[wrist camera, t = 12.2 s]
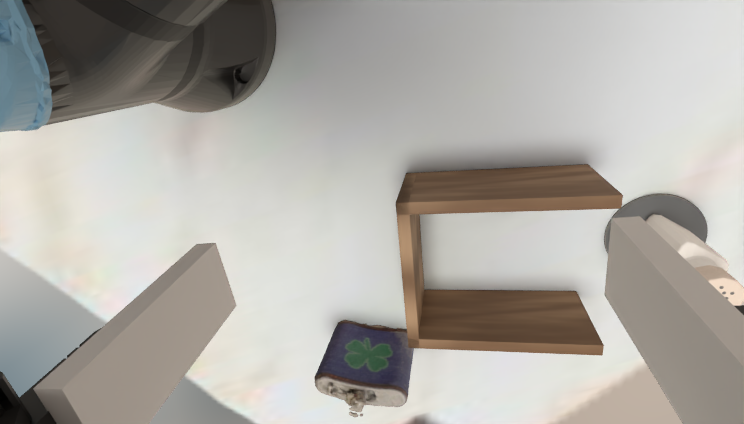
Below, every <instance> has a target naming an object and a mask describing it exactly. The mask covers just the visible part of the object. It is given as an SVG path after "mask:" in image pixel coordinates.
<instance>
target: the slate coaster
mask: <svg viewBox="0 0 744 424" xmlns="http://www.w3.org/2000/svg"><path fill="white" fill-rule="evenodd" d="M653 214H655V215H661V216H663V217H665V218H667V219H669V220H671V221H672V222H674V223H676V224H678V225H680V226H682V227H684V228H685V229H687V230H689V231H690V232H692V233H693V234H694V235H695V236H697V237H698V238H699V239H700V240H702V241H703V242H704V243H705V242H706V238H707V223H706V220H705V217H704V216H703V214H702V212H701V211H700V210H699V209H698V208H697V207H696V206H695V205H693V204H692V203H690V202H689V201H687V200H685V199H683V198H681V197H678V196H674V195H669V194H653V195H648V196H644V197H641V198H638V199H635V200H633V201H631V202H630V203H628V204H626V205H625V206H623V207H622V208H621V209H620V210H619V211H617V212H616V214H615V215H614V216H613V217H612V218H621V217H637V216H640V217H641V218H642V219H643V220H644V221H646V220H647V219H648V218H649V217H650V216H651V215H653ZM610 229H611V220H610V222H609V224H608V225H607V228H606V231H605V236H604V243H605V248H606V251H607V253H608V251H609V240H610Z"/></svg>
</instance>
